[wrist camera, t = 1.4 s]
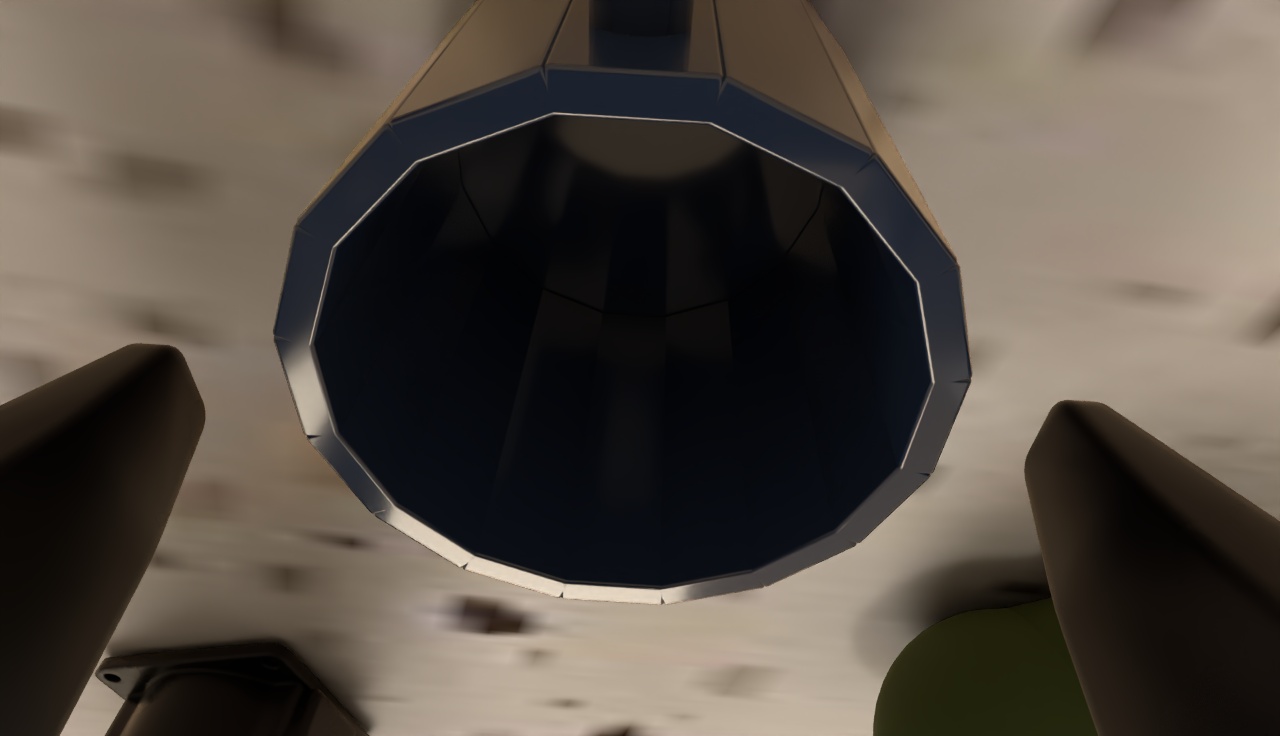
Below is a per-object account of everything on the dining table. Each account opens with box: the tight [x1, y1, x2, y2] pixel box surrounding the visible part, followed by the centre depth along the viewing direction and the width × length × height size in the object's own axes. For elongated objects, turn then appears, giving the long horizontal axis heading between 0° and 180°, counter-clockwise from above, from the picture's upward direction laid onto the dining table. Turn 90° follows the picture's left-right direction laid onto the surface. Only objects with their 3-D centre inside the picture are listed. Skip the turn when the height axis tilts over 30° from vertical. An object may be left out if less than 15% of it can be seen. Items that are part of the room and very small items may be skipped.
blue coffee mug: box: [273, 0, 972, 605], centre depth 9 cm, size 10×7×6 cm
